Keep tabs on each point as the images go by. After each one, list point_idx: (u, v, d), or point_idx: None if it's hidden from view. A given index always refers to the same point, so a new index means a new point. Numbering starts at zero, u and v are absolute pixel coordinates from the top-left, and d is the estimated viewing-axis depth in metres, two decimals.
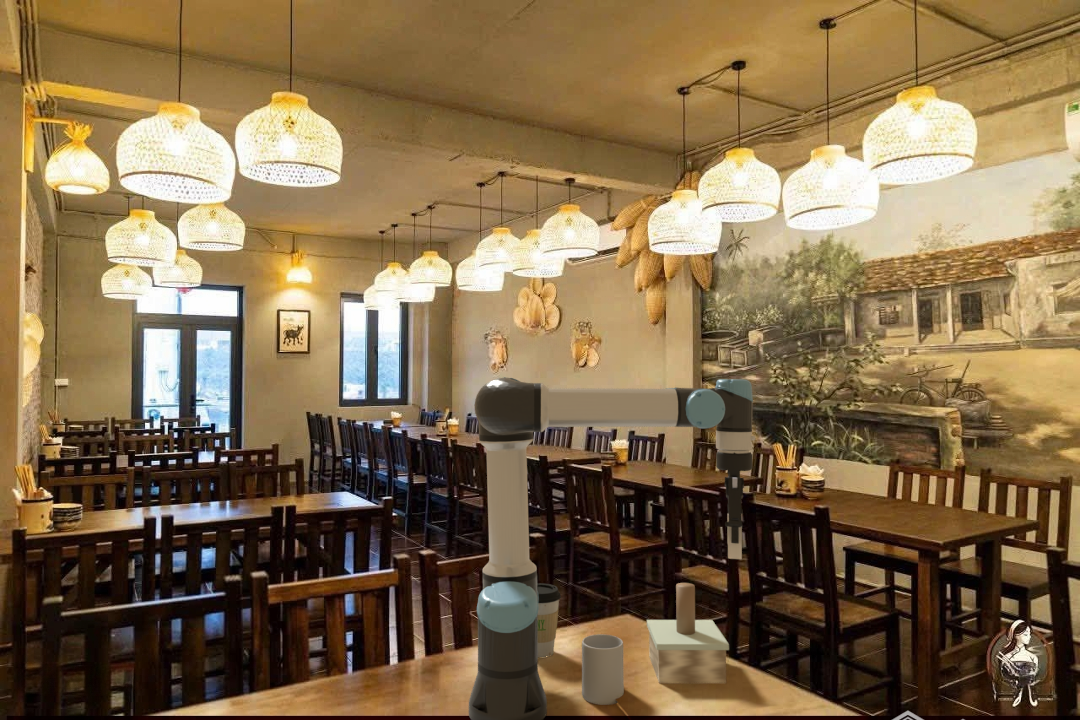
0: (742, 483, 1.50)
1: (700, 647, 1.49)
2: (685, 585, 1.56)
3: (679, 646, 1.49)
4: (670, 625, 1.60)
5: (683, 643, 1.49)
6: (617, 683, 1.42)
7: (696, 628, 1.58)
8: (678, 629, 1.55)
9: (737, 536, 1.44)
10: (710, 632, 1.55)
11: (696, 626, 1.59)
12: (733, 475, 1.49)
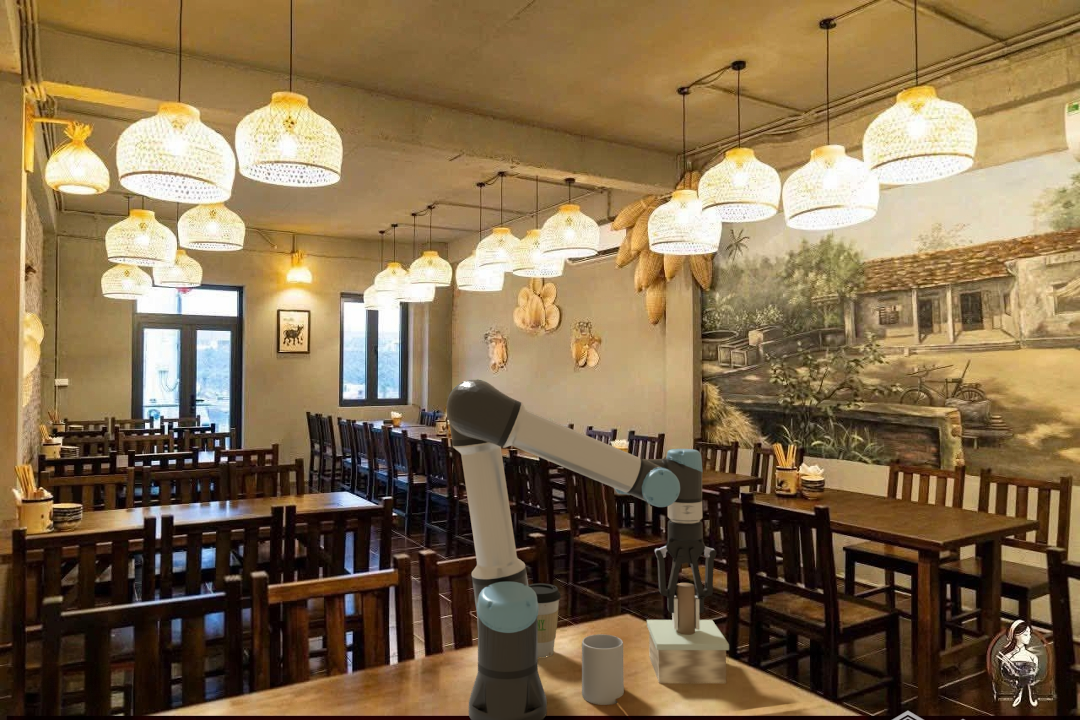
0: (677, 553, 1.55)
1: (700, 647, 1.49)
2: (685, 585, 1.56)
3: (679, 646, 1.49)
4: (670, 625, 1.60)
5: (683, 643, 1.49)
6: (617, 683, 1.42)
7: None
8: (678, 629, 1.55)
9: (668, 605, 1.56)
10: (710, 632, 1.55)
11: None
12: (666, 543, 1.57)
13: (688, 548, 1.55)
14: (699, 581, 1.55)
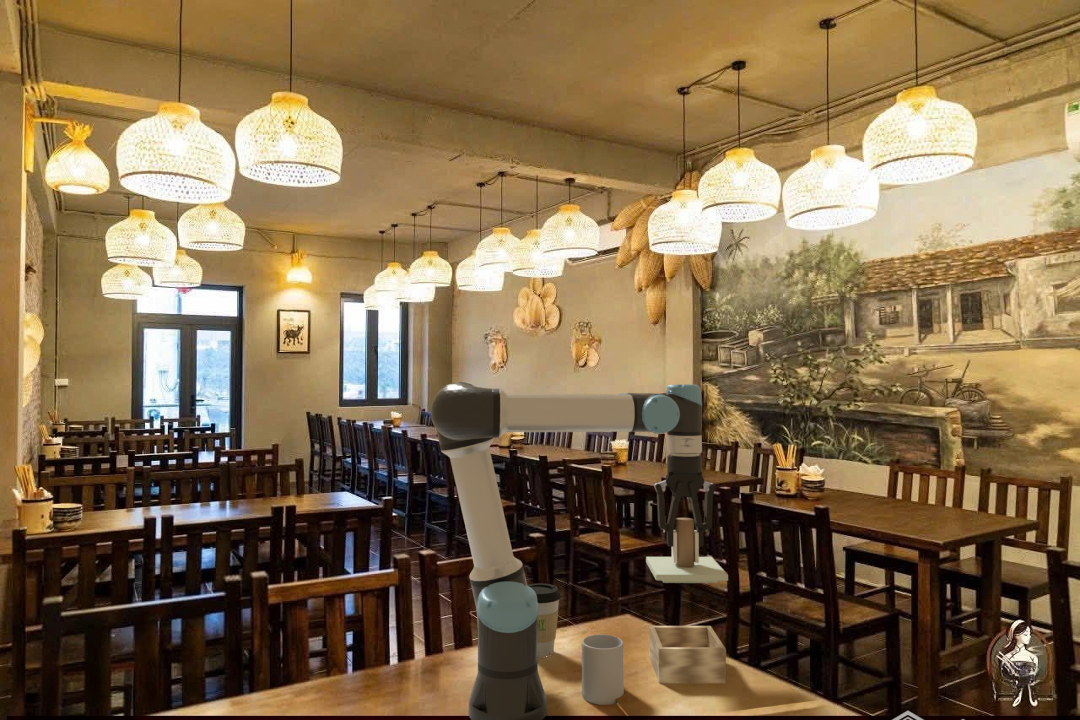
0: (676, 487, 1.55)
1: (699, 577, 1.49)
2: (684, 519, 1.57)
3: (678, 576, 1.49)
4: (669, 560, 1.60)
5: (682, 573, 1.50)
6: (617, 683, 1.42)
7: (695, 563, 1.58)
8: (677, 562, 1.56)
9: (667, 539, 1.56)
10: (709, 566, 1.56)
11: None
12: None
13: (687, 482, 1.56)
14: (698, 515, 1.56)
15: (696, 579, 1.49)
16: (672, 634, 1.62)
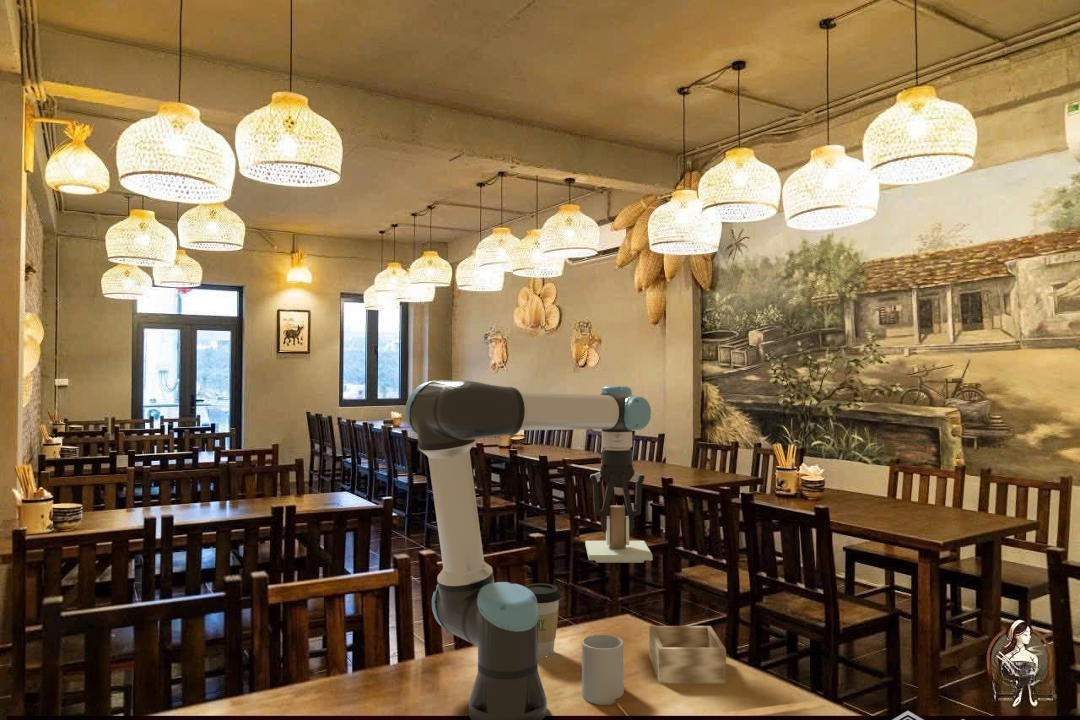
0: (609, 477, 1.74)
1: (627, 557, 1.68)
2: (617, 506, 1.76)
3: (608, 557, 1.68)
4: (604, 543, 1.79)
5: (612, 554, 1.69)
6: (617, 683, 1.42)
7: (627, 545, 1.77)
8: (610, 545, 1.75)
9: None
10: (639, 548, 1.75)
11: None
12: (600, 469, 1.76)
13: (619, 473, 1.75)
14: (629, 502, 1.75)
15: (624, 559, 1.68)
16: (672, 634, 1.62)
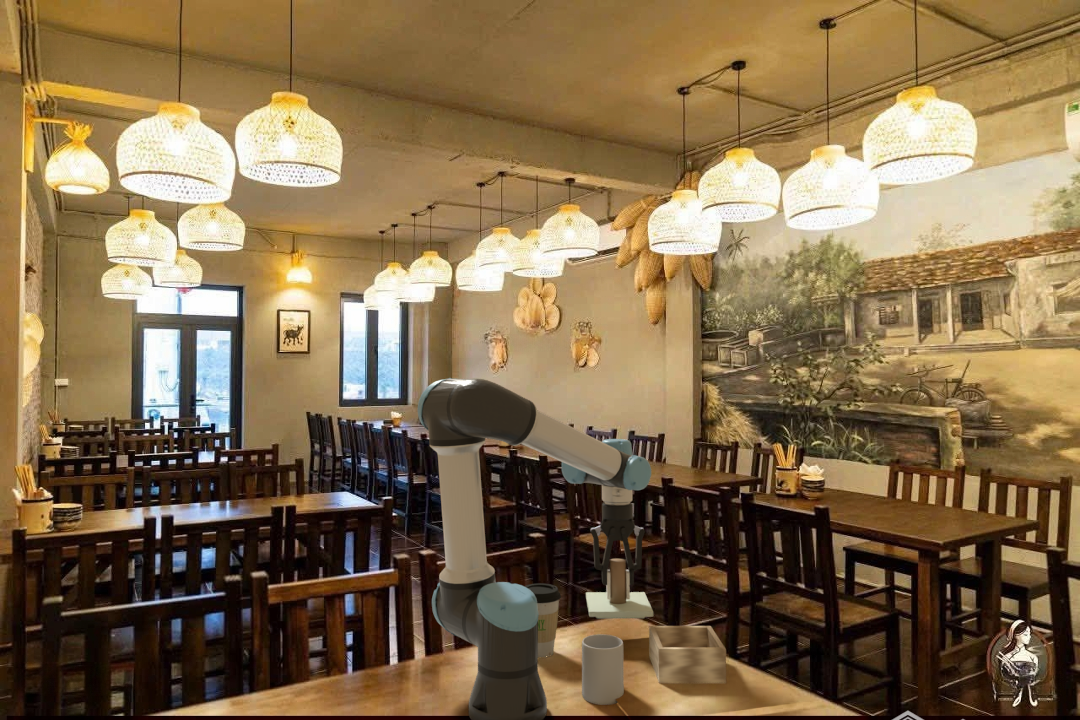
0: (609, 532, 1.74)
1: (628, 614, 1.68)
2: (617, 560, 1.76)
3: (609, 613, 1.68)
4: (605, 596, 1.79)
5: (613, 610, 1.68)
6: (617, 683, 1.42)
7: (628, 599, 1.77)
8: (611, 599, 1.74)
9: (602, 578, 1.75)
10: (639, 602, 1.75)
11: None
12: (600, 523, 1.76)
13: (619, 527, 1.75)
14: (629, 556, 1.74)
15: (625, 615, 1.68)
16: (672, 634, 1.62)
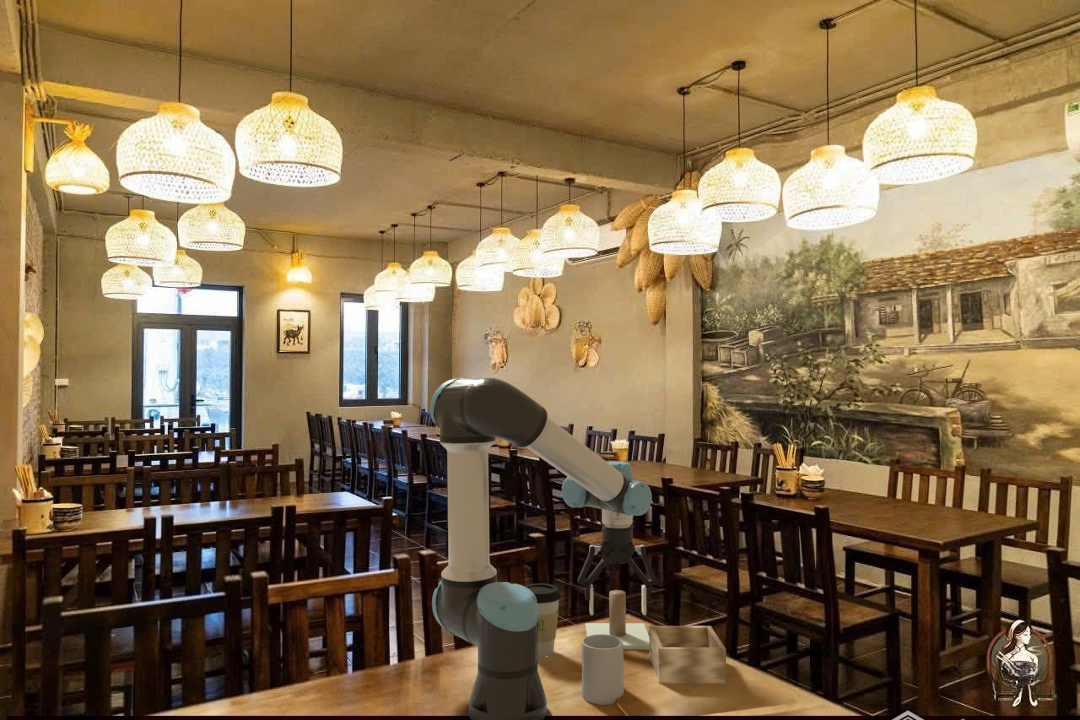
0: (609, 553, 1.74)
1: (627, 648, 1.68)
2: (617, 592, 1.75)
3: None
4: (604, 628, 1.79)
5: None
6: (617, 683, 1.42)
7: (627, 631, 1.77)
8: (610, 632, 1.74)
9: (585, 593, 1.75)
10: (639, 634, 1.74)
11: (628, 629, 1.78)
12: (602, 544, 1.76)
13: (619, 552, 1.74)
14: (640, 574, 1.74)
15: (624, 649, 1.68)
16: (672, 634, 1.62)
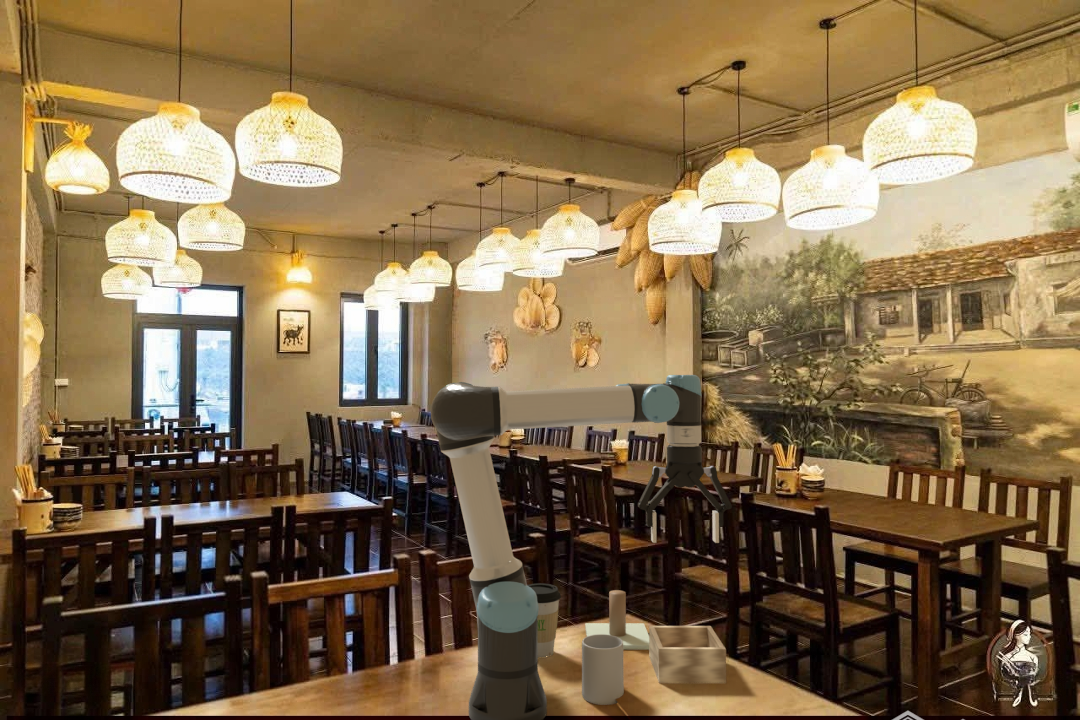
0: (675, 475, 1.55)
1: (627, 648, 1.68)
2: (617, 592, 1.75)
3: None
4: (604, 628, 1.79)
5: None
6: (617, 683, 1.42)
7: (627, 631, 1.77)
8: (610, 632, 1.74)
9: (646, 519, 1.56)
10: (639, 634, 1.74)
11: (628, 629, 1.78)
12: (667, 466, 1.57)
13: (687, 474, 1.56)
14: (712, 497, 1.56)
15: (624, 649, 1.68)
16: (672, 634, 1.62)
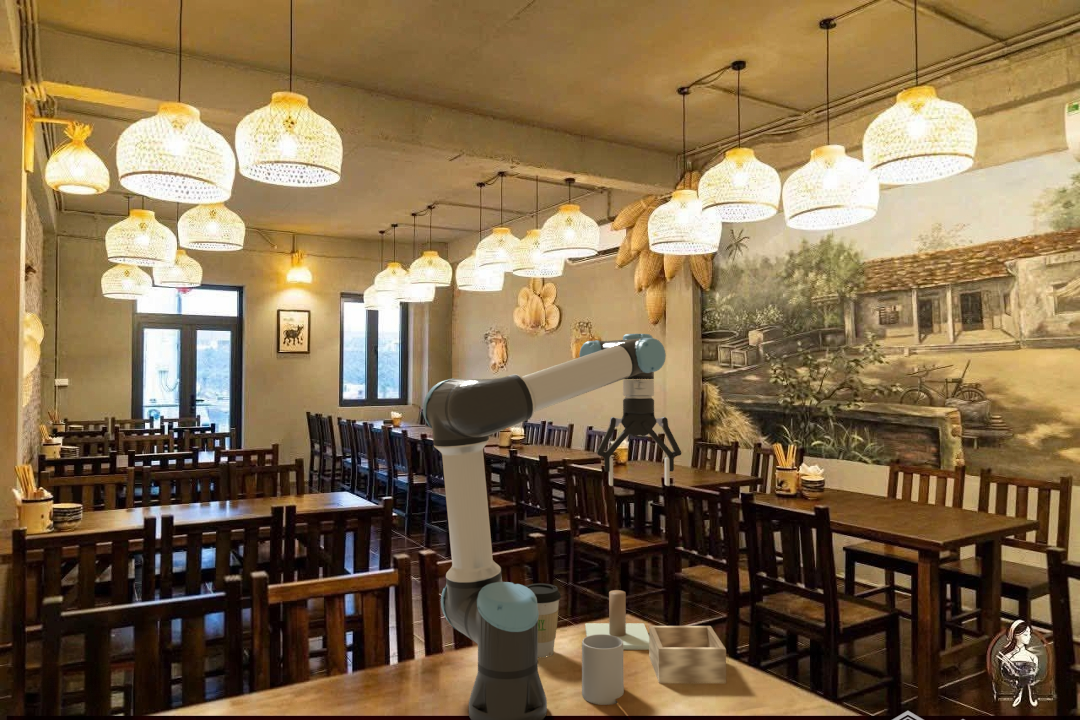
0: (630, 424, 1.72)
1: (627, 648, 1.68)
2: (617, 592, 1.75)
3: None
4: (604, 628, 1.79)
5: None
6: (617, 683, 1.42)
7: (627, 631, 1.77)
8: (610, 632, 1.74)
9: (604, 465, 1.73)
10: (639, 634, 1.74)
11: (628, 629, 1.78)
12: (623, 416, 1.74)
13: (640, 424, 1.72)
14: (663, 445, 1.72)
15: (624, 649, 1.68)
16: (672, 634, 1.62)
